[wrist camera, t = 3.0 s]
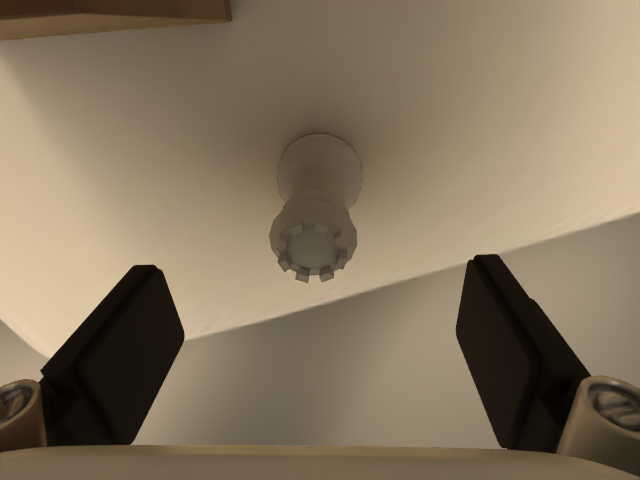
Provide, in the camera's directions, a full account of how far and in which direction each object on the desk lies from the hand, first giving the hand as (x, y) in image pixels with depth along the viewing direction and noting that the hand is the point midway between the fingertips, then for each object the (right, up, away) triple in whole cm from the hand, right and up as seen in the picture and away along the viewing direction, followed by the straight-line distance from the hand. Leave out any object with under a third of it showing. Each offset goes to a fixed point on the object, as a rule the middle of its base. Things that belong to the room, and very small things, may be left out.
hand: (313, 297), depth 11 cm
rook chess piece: (0, +6, +8) cm, 10 cm away
